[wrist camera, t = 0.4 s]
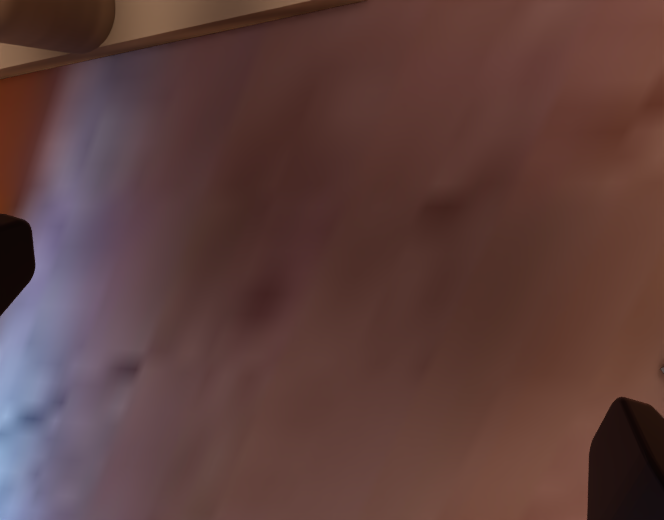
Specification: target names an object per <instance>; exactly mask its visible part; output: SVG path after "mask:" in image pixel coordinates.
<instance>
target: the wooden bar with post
mask: <svg viewBox="0 0 664 520" xmlns="http://www.w3.org/2000/svg"><path fill="white" fill-rule="evenodd" d="M361 1H366V0H0V79H4V78H8V77H13V76H18V75H22V74H27V73H32V72H36V71H41V70H46V69H50V68H55V67H59V66H64V65H69V64H73V63H78V62H83V61H87V60H92V59H97V58H101V57H106V56H111V55H115V54H120V53H124V52H129V51H134V50H138V49H143V48H148V47H152V46H157V45H162V44H166V43H171V42H176V41H180V40H185V39H189V38H194V37H199V36H203V35H208V34H213V33H217V32H222V31H227V30H231V29H236V28H241V27H245V26H250V25H255V24H259V23H264V22H268V21H273V20H278V19H282V18H287V17H292V16H296V15H301V14H306V13H310V12H315V11H320V10H324V9H329V8H333V7H338V6H343V5H347V4H352V3H357V2H361Z"/></svg>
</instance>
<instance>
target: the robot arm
mask: <svg viewBox="0 0 664 520" xmlns="http://www.w3.org/2000/svg"><path fill="white" fill-rule="evenodd" d="M34 271H35V257H34V247H33V237H32V230H31V227H30V225H29V223H28V222H27V221H25V220H23V219H20V218H16V217H13V216H10V215H6V214H0V316H1V315H2V314H3V312H4V311H5V310H6V309H7V308H8V307H9V305H10V304H11V303H12V302H13V301H14V299H15V298H16V297H17V296H18V295H19V294H20V292H21V291H22V290H23V289H24V288H25V286H26V285H27V284H28V283H29V282H30V280H31V279H32V277H33V274H34ZM587 520H664V418H663V417H662V416H661V415H660V414H659V413H658V412H657V411H656V410H655V409H654V408H653V407H652V406H651V405H649V404H646V403H643V402H639V401H636V400H632V399H629V398H626V397H619V398H617V399H616V400H615V401H614V402H613V403H612V405H611V406H610V408H609V410H608V412H607V414H606V416H605V418H604V419H603V421H602V423H601V425H600V427H599V429H598V430H597V432H596V434H595V436H594V438H593V440H592V443H591V447H590V452H589V477H588V512H587Z"/></svg>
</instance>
